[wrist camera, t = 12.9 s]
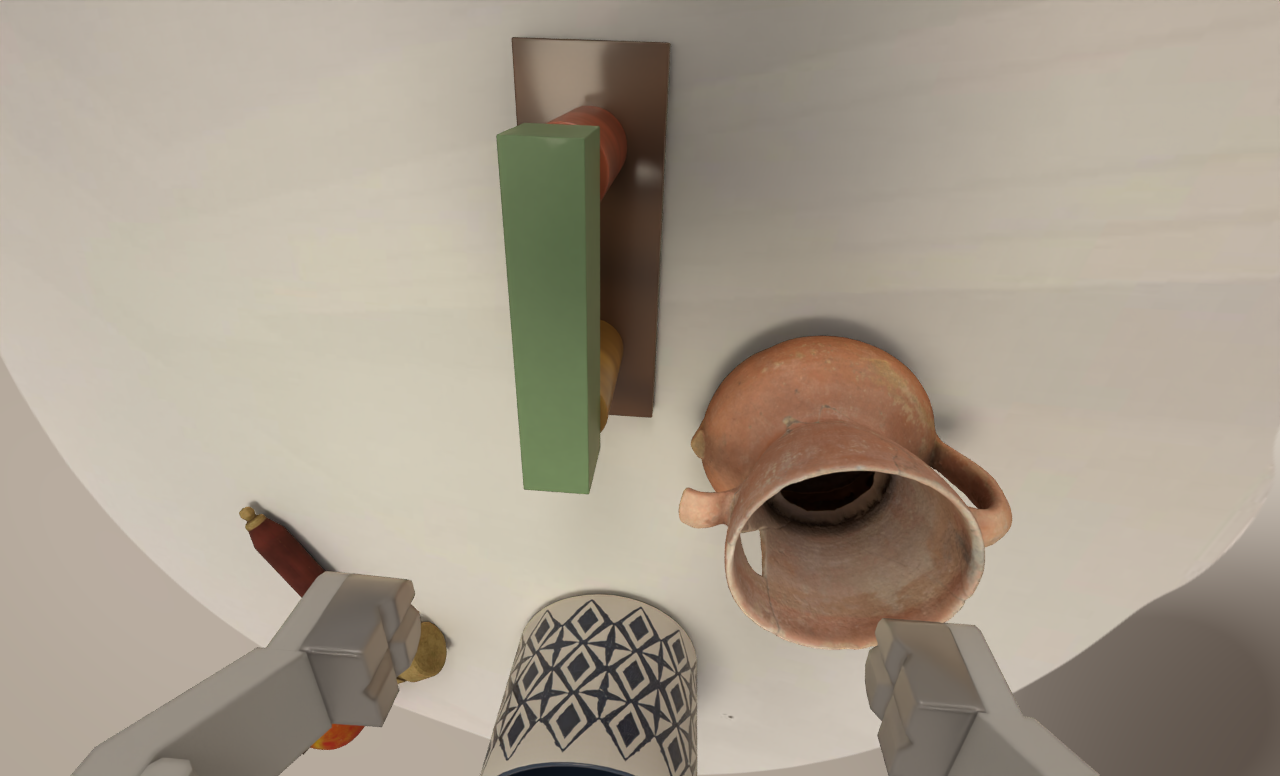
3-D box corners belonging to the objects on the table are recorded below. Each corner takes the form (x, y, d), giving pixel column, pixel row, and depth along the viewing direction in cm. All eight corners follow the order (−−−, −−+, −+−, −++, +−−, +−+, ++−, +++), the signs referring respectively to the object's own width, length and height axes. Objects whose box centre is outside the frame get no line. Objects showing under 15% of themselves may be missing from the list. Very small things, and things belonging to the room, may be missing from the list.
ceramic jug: (673, 489, 46) (666, 652, 33) (692, 308, 39) (690, 430, 26) (918, 511, 45) (1003, 687, 33) (982, 331, 38) (1121, 468, 26)
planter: (636, 727, 60) (620, 905, 48) (492, 661, 57) (435, 833, 45) (732, 641, 53) (744, 824, 41) (575, 560, 50) (535, 731, 38)
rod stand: (518, 37, 32) (457, 33, 24) (670, 42, 32) (661, 41, 24) (539, 399, 43) (502, 482, 35) (653, 406, 43) (643, 493, 34)
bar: (523, 122, 25) (495, 134, 22) (600, 125, 25) (584, 138, 22) (541, 443, 33) (523, 489, 30) (600, 447, 33) (589, 494, 29)
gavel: (180, 547, 49) (266, 504, 46) (221, 511, 53) (303, 470, 50) (349, 715, 55) (434, 688, 52) (374, 672, 60) (455, 644, 57)
